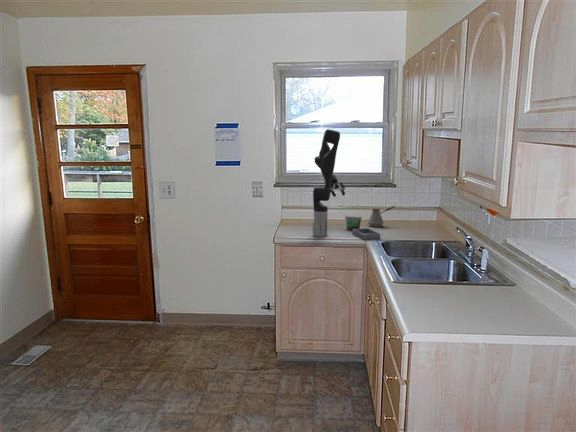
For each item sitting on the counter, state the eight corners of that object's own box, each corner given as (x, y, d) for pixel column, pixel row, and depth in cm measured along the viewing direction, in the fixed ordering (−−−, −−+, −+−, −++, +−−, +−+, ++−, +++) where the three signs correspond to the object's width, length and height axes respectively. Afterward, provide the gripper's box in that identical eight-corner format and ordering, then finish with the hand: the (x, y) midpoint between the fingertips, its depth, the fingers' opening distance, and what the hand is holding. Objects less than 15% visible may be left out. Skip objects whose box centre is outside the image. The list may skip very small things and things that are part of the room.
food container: (342, 230, 312) (342, 216, 310) (345, 228, 318) (345, 215, 316) (358, 231, 307) (359, 218, 305) (361, 230, 312) (361, 216, 310)
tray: (363, 239, 283) (363, 234, 283) (352, 233, 300) (352, 229, 300) (380, 238, 287) (380, 233, 286) (367, 232, 304) (368, 227, 303)
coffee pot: (370, 228, 318) (371, 208, 316) (365, 225, 330) (366, 205, 327) (398, 227, 322) (399, 207, 319) (392, 223, 333) (393, 204, 330)
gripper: (325, 175, 317) (334, 194, 311) (340, 173, 324) (349, 191, 318) (320, 181, 322) (329, 199, 316) (335, 179, 330) (344, 197, 324)
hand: (339, 195), depth 317 cm, fingers open, 8 cm apart
